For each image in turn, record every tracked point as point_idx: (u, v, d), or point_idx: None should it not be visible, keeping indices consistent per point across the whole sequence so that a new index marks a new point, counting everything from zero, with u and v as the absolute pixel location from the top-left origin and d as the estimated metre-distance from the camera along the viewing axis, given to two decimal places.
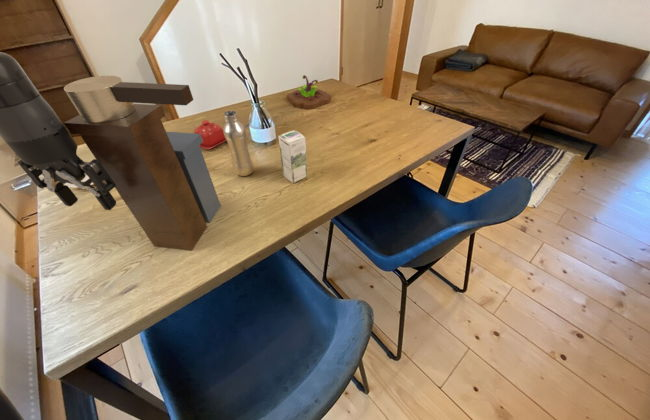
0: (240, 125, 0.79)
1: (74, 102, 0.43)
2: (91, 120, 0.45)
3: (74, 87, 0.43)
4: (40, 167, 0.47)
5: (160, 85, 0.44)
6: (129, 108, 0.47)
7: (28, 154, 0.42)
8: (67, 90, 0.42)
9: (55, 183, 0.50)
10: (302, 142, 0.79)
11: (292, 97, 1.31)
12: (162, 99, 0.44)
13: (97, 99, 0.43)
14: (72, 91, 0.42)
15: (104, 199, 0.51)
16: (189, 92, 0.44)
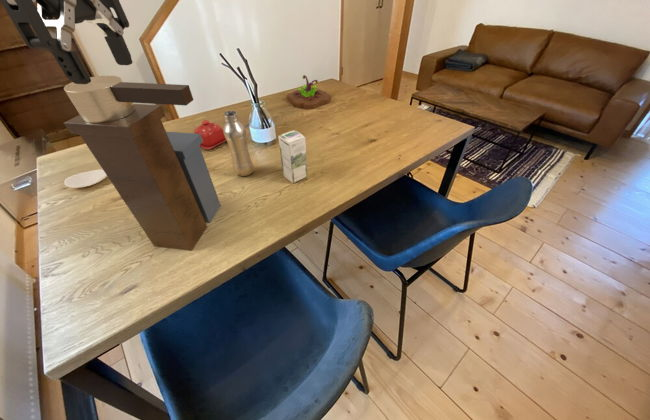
0: (240, 125, 0.79)
1: (74, 102, 0.43)
2: (91, 120, 0.45)
3: (74, 87, 0.43)
4: None
5: (160, 85, 0.44)
6: (129, 108, 0.47)
7: None
8: (67, 90, 0.42)
9: (91, 20, 0.37)
10: (302, 142, 0.79)
11: (292, 97, 1.31)
12: (162, 99, 0.44)
13: (97, 99, 0.43)
14: (72, 91, 0.42)
15: None
16: (189, 92, 0.44)
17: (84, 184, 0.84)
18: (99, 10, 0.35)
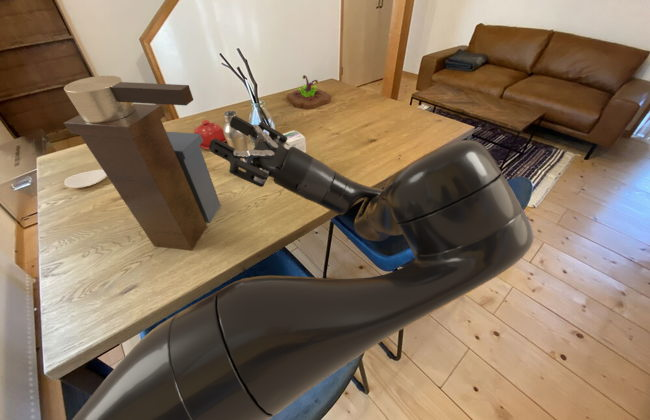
0: None
1: (74, 102, 0.43)
2: (91, 120, 0.45)
3: (74, 87, 0.43)
4: (277, 145, 0.51)
5: (160, 85, 0.44)
6: (129, 108, 0.47)
7: (300, 158, 0.47)
8: (67, 90, 0.42)
9: (259, 136, 0.50)
10: (302, 142, 0.79)
11: (292, 97, 1.31)
12: (162, 99, 0.44)
13: (97, 99, 0.43)
14: (72, 91, 0.42)
15: (226, 150, 0.44)
16: (189, 92, 0.44)
17: (84, 184, 0.84)
18: None
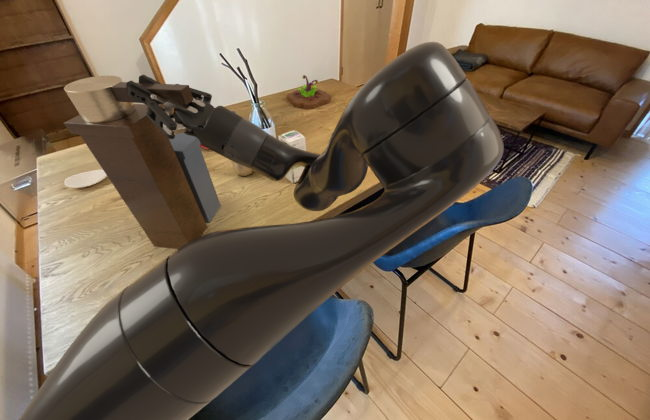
0: None
1: (74, 102, 0.43)
2: (91, 120, 0.45)
3: (74, 87, 0.43)
4: (207, 106, 0.48)
5: (160, 85, 0.44)
6: (129, 108, 0.47)
7: (225, 117, 0.44)
8: (67, 90, 0.42)
9: None
10: (302, 142, 0.79)
11: (292, 97, 1.31)
12: None
13: (97, 99, 0.43)
14: (72, 91, 0.42)
15: (143, 93, 0.42)
16: (189, 92, 0.44)
17: (84, 184, 0.84)
18: None
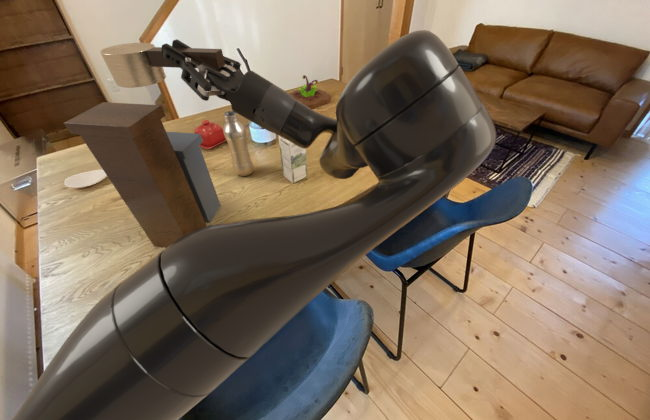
0: (240, 125, 0.79)
1: (110, 65, 0.44)
2: (125, 84, 0.46)
3: (110, 51, 0.44)
4: (237, 72, 0.48)
5: (194, 49, 0.45)
6: (161, 74, 0.48)
7: (257, 80, 0.45)
8: (104, 53, 0.43)
9: None
10: None
11: None
12: None
13: (132, 62, 0.44)
14: (109, 54, 0.43)
15: (178, 56, 0.43)
16: (222, 56, 0.45)
17: (84, 184, 0.84)
18: None
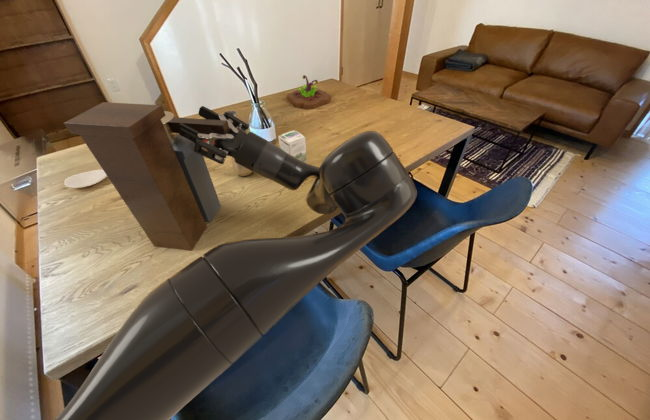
0: None
1: None
2: None
3: None
4: (239, 131, 0.60)
5: (205, 120, 0.57)
6: (178, 136, 0.61)
7: (255, 141, 0.57)
8: None
9: None
10: (302, 142, 0.79)
11: (292, 97, 1.31)
12: (207, 131, 0.57)
13: None
14: None
15: (191, 133, 0.53)
16: (227, 126, 0.57)
17: (84, 184, 0.84)
18: None
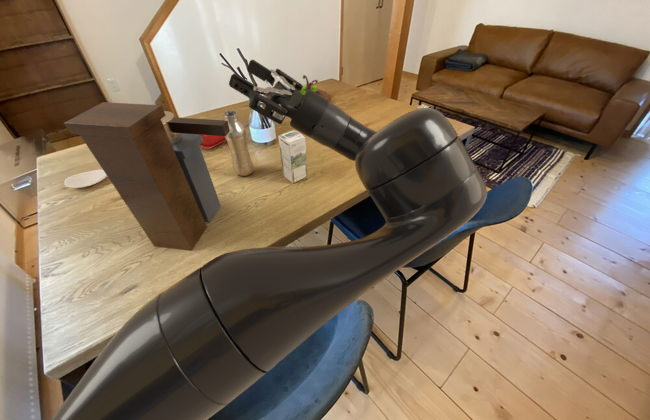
0: (240, 125, 0.79)
1: None
2: None
3: None
4: None
5: (205, 120, 0.57)
6: (178, 136, 0.61)
7: (317, 99, 0.48)
8: None
9: (276, 79, 0.51)
10: (302, 142, 0.79)
11: None
12: (207, 131, 0.57)
13: None
14: None
15: (246, 85, 0.45)
16: (227, 126, 0.57)
17: (84, 184, 0.84)
18: None
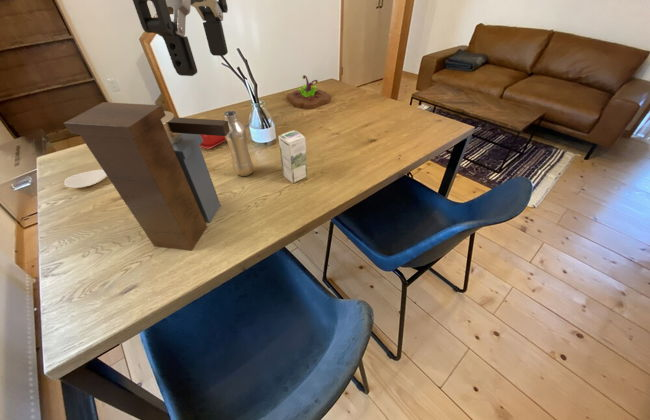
0: (240, 125, 0.79)
1: None
2: None
3: None
4: None
5: (205, 120, 0.57)
6: (178, 136, 0.61)
7: None
8: None
9: (194, 3, 0.33)
10: (302, 142, 0.79)
11: (292, 97, 1.31)
12: (207, 131, 0.57)
13: None
14: None
15: None
16: (227, 126, 0.57)
17: (84, 184, 0.84)
18: None
